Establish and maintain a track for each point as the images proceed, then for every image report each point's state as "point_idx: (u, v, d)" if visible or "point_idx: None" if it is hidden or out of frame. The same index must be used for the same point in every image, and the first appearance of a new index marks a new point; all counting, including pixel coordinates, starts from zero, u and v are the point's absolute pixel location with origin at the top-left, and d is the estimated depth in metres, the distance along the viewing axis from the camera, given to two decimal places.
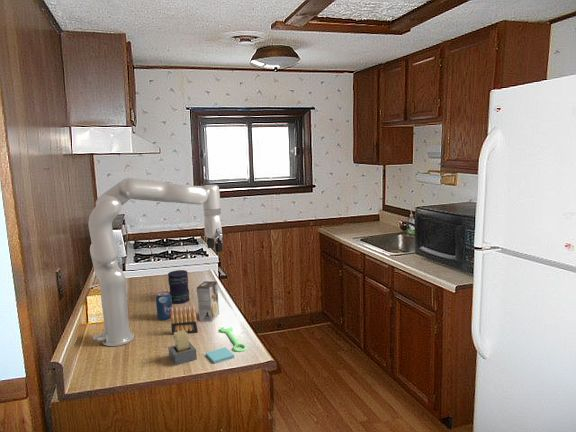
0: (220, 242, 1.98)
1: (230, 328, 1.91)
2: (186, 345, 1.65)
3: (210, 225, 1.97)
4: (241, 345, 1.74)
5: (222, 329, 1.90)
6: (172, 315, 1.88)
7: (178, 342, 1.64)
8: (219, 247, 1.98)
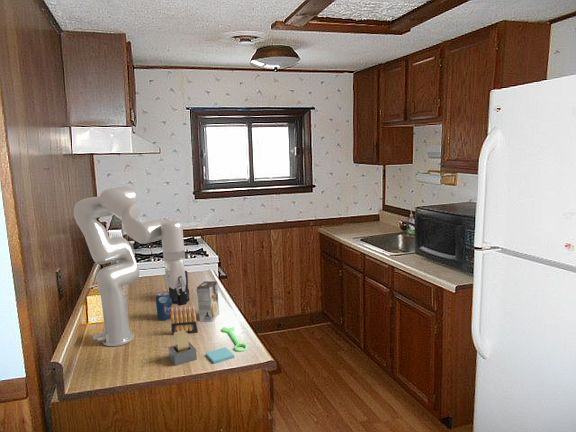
0: (183, 293, 1.58)
1: (232, 328, 1.91)
2: (186, 345, 1.65)
3: (171, 272, 1.58)
4: (242, 345, 1.75)
5: (224, 329, 1.90)
6: (172, 315, 1.88)
7: (178, 342, 1.64)
8: (182, 299, 1.58)
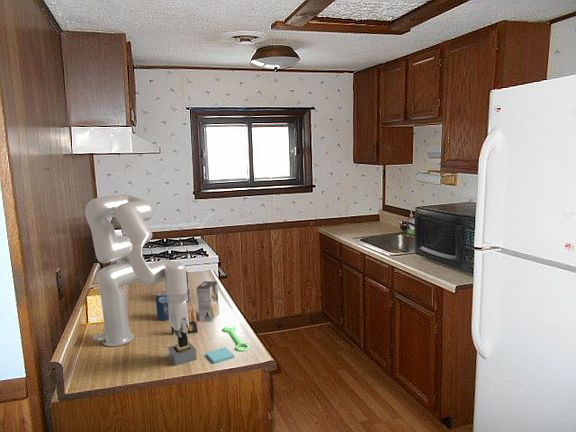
0: (184, 336, 1.63)
1: (233, 327, 1.91)
2: None
3: (174, 314, 1.60)
4: (244, 344, 1.75)
5: (225, 328, 1.90)
6: None
7: (178, 342, 1.64)
8: (183, 341, 1.63)
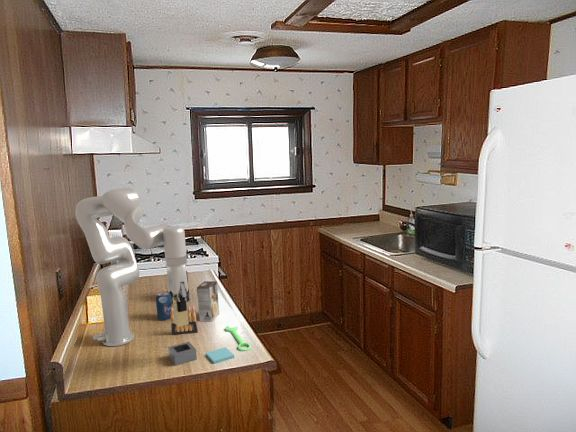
0: (183, 300, 1.61)
1: (235, 327, 1.91)
2: None
3: (173, 278, 1.58)
4: (246, 344, 1.75)
5: (227, 328, 1.91)
6: (172, 315, 1.88)
7: (177, 307, 1.61)
8: (182, 306, 1.61)
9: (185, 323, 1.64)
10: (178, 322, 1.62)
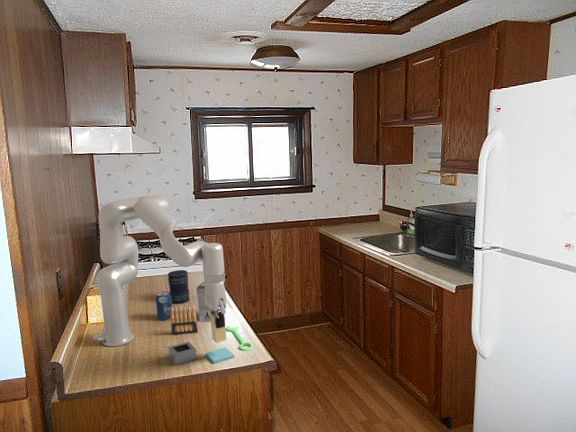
0: (222, 316, 1.62)
1: (236, 327, 1.91)
2: None
3: (212, 294, 1.59)
4: (247, 344, 1.75)
5: (228, 328, 1.91)
6: (172, 315, 1.88)
7: (215, 323, 1.63)
8: (221, 322, 1.62)
9: (223, 339, 1.65)
10: (216, 338, 1.63)
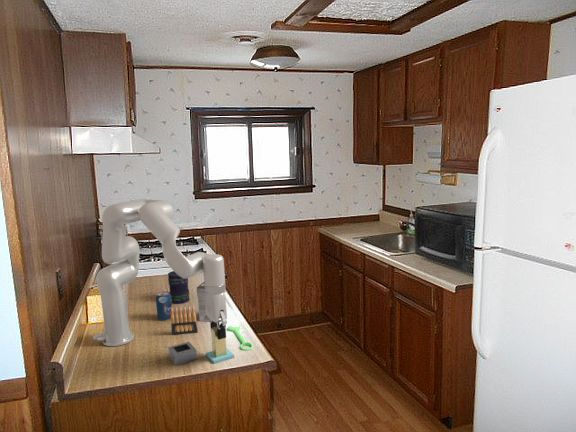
0: (223, 328, 1.62)
1: (238, 327, 1.92)
2: (223, 341, 1.65)
3: (212, 306, 1.60)
4: (248, 344, 1.75)
5: (230, 328, 1.91)
6: (172, 315, 1.88)
7: (215, 338, 1.64)
8: (222, 333, 1.62)
9: (223, 353, 1.66)
10: (217, 353, 1.64)
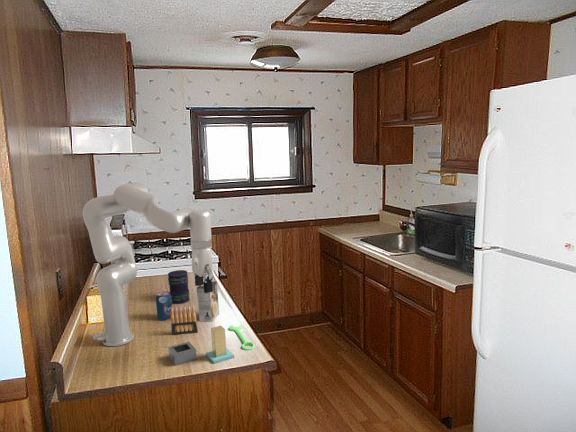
0: (210, 281, 1.62)
1: (239, 326, 1.92)
2: (223, 341, 1.65)
3: (198, 260, 1.62)
4: (250, 343, 1.76)
5: (231, 327, 1.91)
6: (172, 315, 1.88)
7: (215, 338, 1.64)
8: (208, 287, 1.62)
9: (223, 353, 1.66)
10: (217, 353, 1.64)
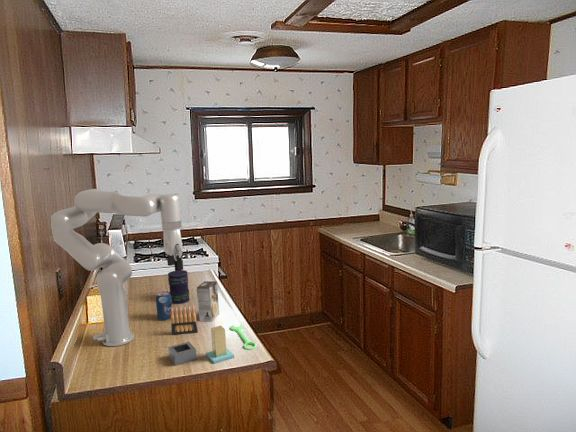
0: (180, 259, 1.74)
1: (240, 326, 1.92)
2: (223, 341, 1.65)
3: (168, 240, 1.73)
4: (251, 343, 1.76)
5: (232, 327, 1.91)
6: (172, 315, 1.88)
7: (215, 338, 1.64)
8: (179, 265, 1.74)
9: (223, 353, 1.66)
10: (217, 353, 1.64)
